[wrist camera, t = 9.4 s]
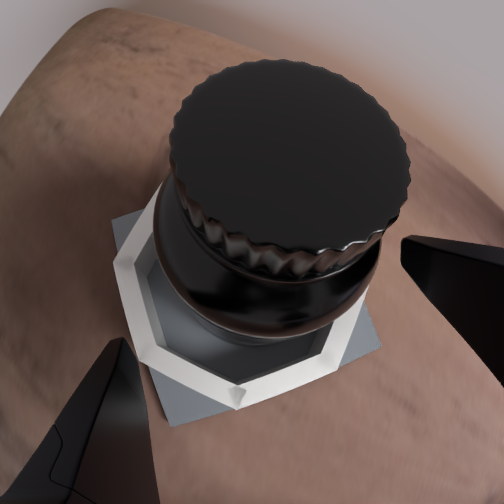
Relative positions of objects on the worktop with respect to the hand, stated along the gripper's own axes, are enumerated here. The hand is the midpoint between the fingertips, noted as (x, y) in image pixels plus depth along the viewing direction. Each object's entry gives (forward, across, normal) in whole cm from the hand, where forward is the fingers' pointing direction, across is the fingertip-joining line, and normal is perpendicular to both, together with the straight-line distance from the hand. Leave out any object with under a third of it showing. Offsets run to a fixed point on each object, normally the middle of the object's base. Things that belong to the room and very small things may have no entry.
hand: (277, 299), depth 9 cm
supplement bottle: (+7, 0, +4) cm, 8 cm away
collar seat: (+8, 0, +4) cm, 8 cm away
